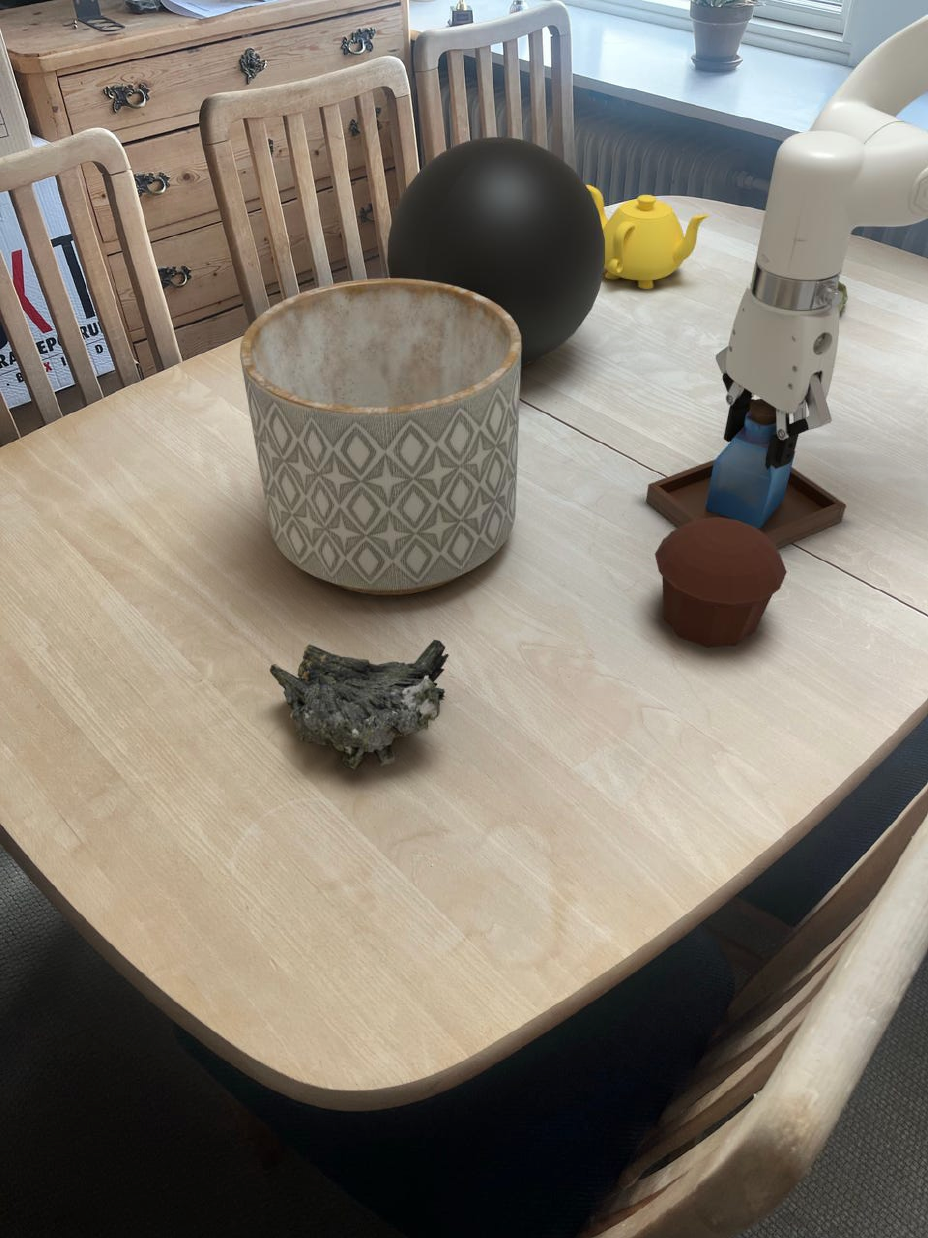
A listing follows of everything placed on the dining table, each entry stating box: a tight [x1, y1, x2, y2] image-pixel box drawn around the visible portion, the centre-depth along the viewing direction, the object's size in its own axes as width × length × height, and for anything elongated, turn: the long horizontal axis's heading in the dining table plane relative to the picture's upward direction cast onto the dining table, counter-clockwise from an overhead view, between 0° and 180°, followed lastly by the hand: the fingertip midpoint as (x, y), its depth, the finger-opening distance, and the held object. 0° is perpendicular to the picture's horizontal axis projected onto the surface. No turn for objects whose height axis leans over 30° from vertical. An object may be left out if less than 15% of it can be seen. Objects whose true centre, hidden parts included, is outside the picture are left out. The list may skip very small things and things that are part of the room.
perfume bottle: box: [705, 398, 796, 529], centre depth 105 cm, size 6×6×12 cm
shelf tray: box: [645, 459, 847, 550], centre depth 108 cm, size 16×14×2 cm
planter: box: [239, 277, 522, 596], centre depth 99 cm, size 26×26×22 cm
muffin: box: [654, 517, 788, 649], centre depth 94 cm, size 12×11×10 cm
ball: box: [386, 136, 605, 367], centre depth 125 cm, size 27×27×27 cm
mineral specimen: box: [269, 639, 450, 770], centre depth 85 cm, size 15×13×10 cm
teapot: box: [585, 184, 710, 290], centre depth 148 cm, size 20×15×12 cm
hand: (756, 449), depth 104 cm, fingers closed on perfume bottle, 5 cm apart
